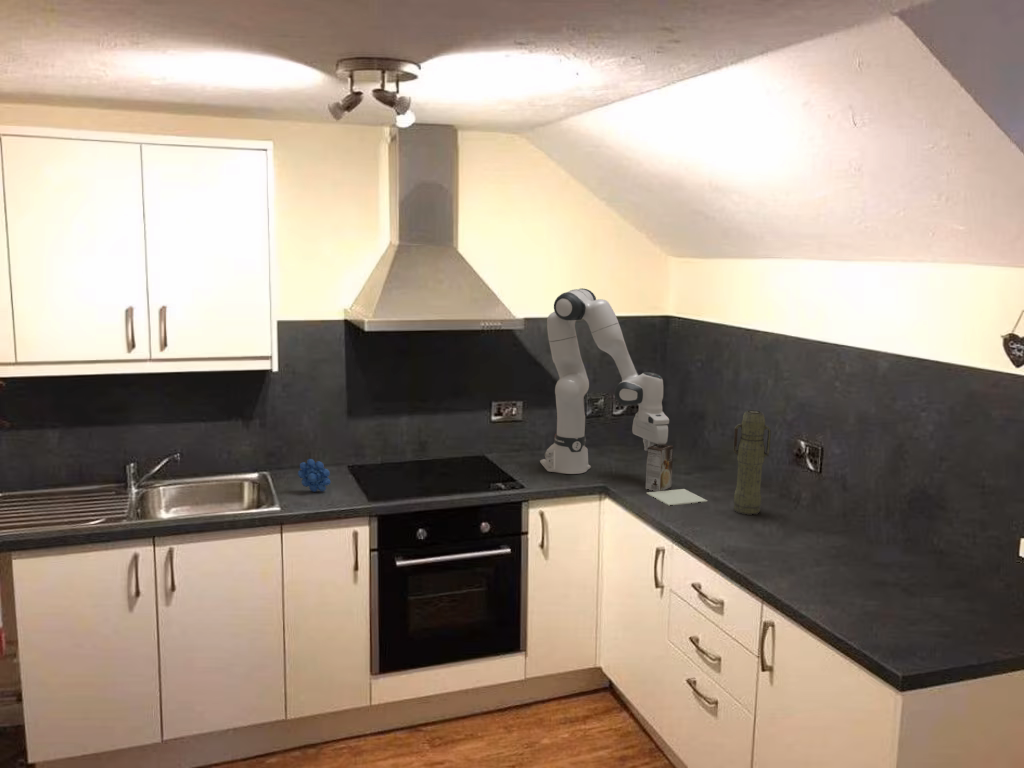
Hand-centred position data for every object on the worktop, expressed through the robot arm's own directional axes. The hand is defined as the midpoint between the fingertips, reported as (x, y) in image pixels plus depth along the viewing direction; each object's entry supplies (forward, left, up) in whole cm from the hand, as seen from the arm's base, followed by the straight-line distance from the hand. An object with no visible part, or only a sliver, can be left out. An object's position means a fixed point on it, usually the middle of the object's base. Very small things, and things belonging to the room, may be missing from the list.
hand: (648, 451), depth 328 cm
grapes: (-23, -122, -12) cm, 125 cm away
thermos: (+41, +15, -12) cm, 46 cm away
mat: (+21, 0, -12) cm, 24 cm away
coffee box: (+8, 0, -12) cm, 15 cm away
